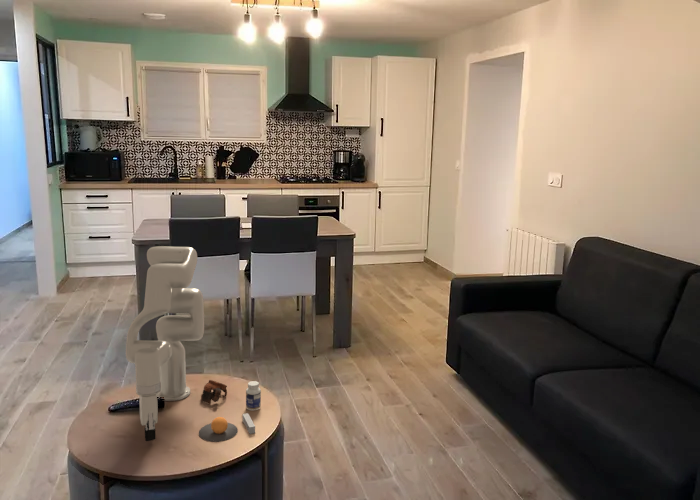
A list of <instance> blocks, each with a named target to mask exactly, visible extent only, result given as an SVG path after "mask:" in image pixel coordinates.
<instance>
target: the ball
mask: <svg viewBox="0 0 700 500" xmlns="http://www.w3.org/2000/svg"><path fill="white" fill-rule="evenodd" d="M228 423H229V422H228V420H227V419H226V418H225V417H222V416H217V417H215V418H214V419H213V420H212V422H211V428H212V430H213V432H215V433H217V434H221V433H223V432H225V431H226V429H227V427H228Z"/></svg>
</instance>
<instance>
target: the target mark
mask: <svg viewBox="0 0 700 500" xmlns="http://www.w3.org/2000/svg"><path fill="white" fill-rule="evenodd" d="M211 423H212V422H211ZM211 423H208V424H205V425H203V426H202V427H200V429H199V430H198V436H199V437H200V439H202V440H204V441H207V442H211V443H213V442H214V443H217V442H218V443H219V442H220V443H221V442H225V441H227V440H230V439H232V438H234V437H235V436H236V435H237V434H238V431H239V429H238V427H237V426H236V425H235V424H233V423H230V422H227V423H228V427H227V429H226V431H225V432H223V433H221V434H217V433H215V432H213V430H212V428H211Z"/></svg>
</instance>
